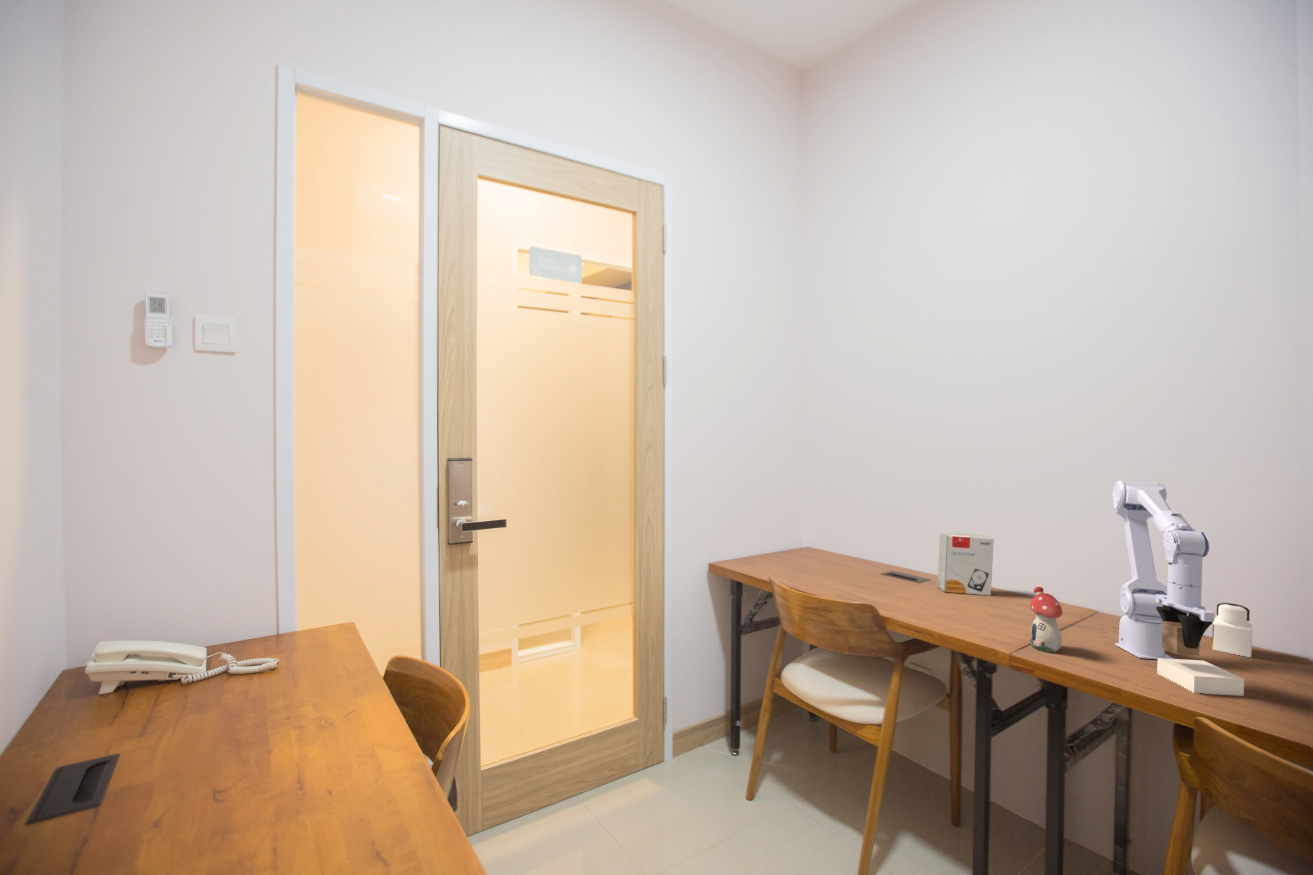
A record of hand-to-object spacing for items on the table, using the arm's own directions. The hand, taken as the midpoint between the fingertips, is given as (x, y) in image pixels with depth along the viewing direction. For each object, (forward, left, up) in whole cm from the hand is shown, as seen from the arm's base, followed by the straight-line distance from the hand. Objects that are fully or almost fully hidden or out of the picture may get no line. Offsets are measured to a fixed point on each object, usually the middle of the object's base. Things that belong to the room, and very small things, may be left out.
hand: (1182, 643), depth 131 cm
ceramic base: (+1, +3, -9) cm, 9 cm away
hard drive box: (-71, -19, -9) cm, 74 cm away
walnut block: (0, 0, -2) cm, 2 cm away
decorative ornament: (-17, -20, -9) cm, 28 cm away
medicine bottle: (-24, +29, -9) cm, 38 cm away
